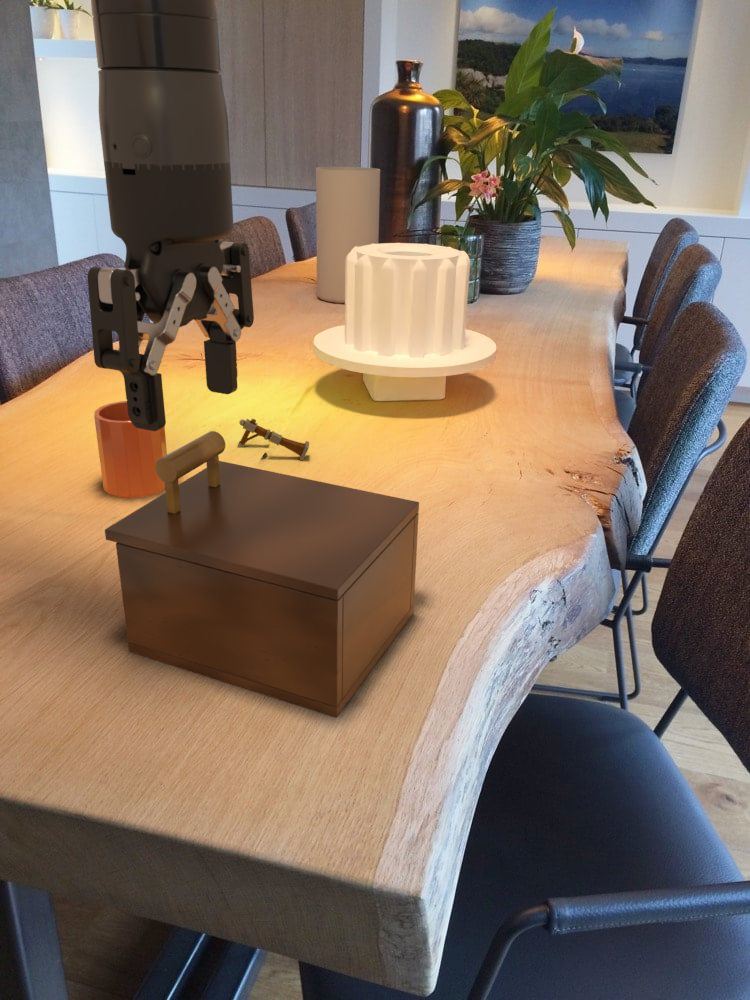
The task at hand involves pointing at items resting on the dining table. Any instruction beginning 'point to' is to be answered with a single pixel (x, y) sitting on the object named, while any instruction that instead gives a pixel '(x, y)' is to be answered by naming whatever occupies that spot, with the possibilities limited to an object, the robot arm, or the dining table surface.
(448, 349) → the flanged gear
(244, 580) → the chest
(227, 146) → the robot arm
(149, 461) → the cup
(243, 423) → the toy mortar
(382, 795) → the dining table surface
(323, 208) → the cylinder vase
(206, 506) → the lid
